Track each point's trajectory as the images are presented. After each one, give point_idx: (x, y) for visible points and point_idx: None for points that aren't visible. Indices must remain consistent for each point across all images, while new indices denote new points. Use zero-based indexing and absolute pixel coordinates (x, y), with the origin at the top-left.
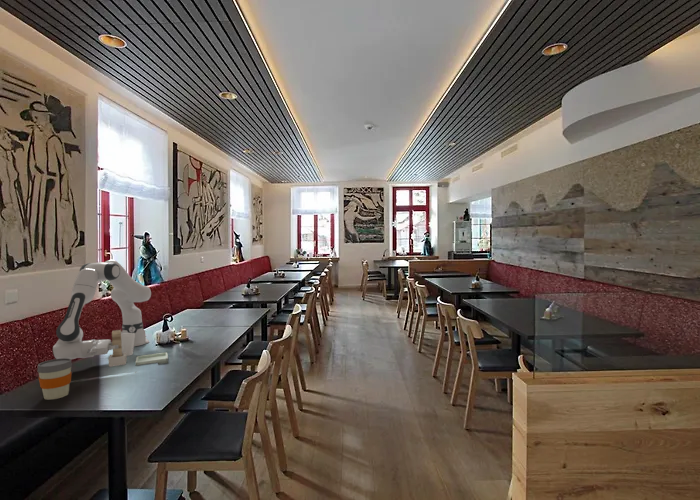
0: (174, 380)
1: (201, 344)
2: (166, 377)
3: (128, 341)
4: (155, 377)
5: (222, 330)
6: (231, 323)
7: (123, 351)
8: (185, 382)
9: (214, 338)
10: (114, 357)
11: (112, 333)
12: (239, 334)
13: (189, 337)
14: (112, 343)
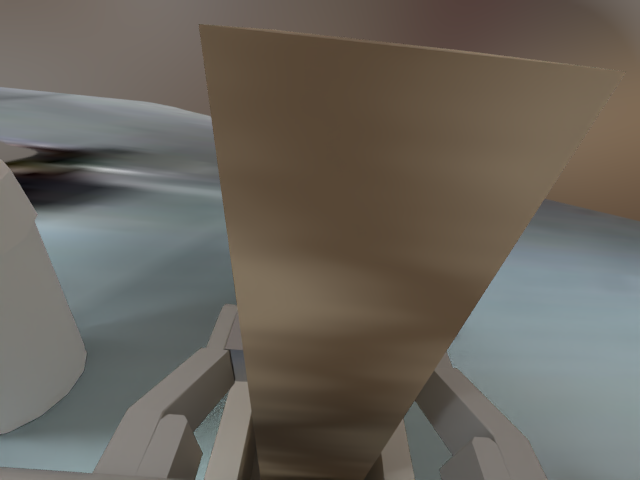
0: (626, 239)
1: (193, 147)
2: (597, 250)
3: (32, 252)
4: (607, 275)
5: (68, 107)
6: (7, 89)
7: (29, 371)
8: (636, 224)
9: (150, 126)
10: (406, 456)
11: (562, 145)
12: (173, 107)
13: (25, 143)
14: (422, 387)
